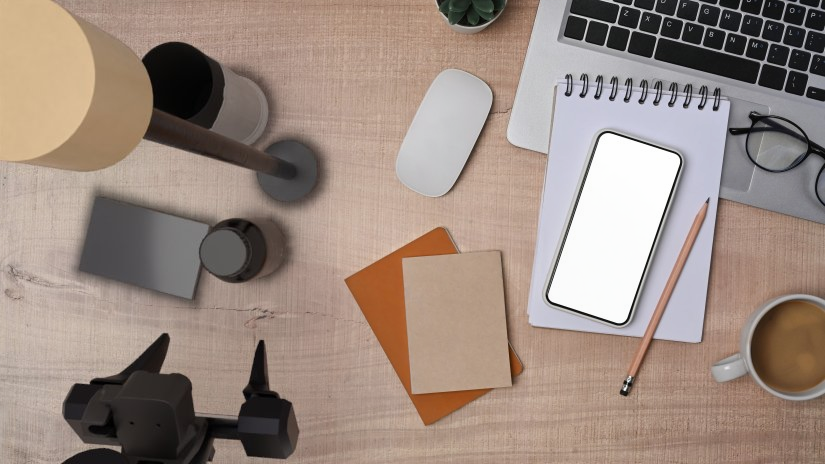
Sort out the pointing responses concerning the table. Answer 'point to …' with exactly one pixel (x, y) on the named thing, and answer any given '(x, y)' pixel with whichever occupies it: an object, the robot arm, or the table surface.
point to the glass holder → (205, 92)
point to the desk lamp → (107, 105)
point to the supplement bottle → (242, 249)
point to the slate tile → (143, 247)
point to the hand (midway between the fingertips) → (214, 338)
